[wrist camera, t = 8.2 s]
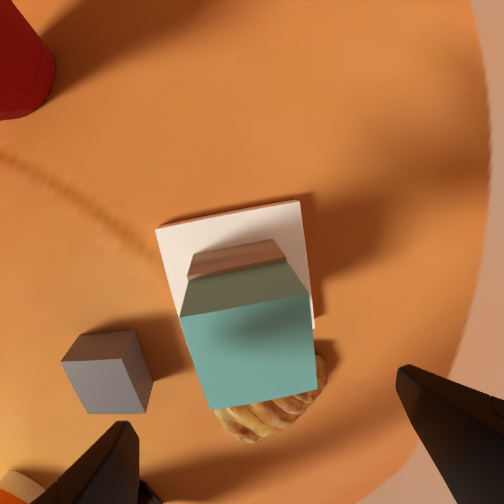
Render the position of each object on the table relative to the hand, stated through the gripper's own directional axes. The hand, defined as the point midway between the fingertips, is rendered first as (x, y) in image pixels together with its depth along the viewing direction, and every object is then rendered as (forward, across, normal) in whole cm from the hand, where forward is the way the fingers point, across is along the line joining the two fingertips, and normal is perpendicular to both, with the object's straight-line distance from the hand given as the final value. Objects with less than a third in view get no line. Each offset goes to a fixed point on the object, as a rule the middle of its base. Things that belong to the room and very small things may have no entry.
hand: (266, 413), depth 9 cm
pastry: (+13, 0, +10) cm, 17 cm away
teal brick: (+8, 0, 0) cm, 8 cm away
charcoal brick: (+13, +11, +5) cm, 18 cm away
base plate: (+13, 0, 0) cm, 13 cm away
